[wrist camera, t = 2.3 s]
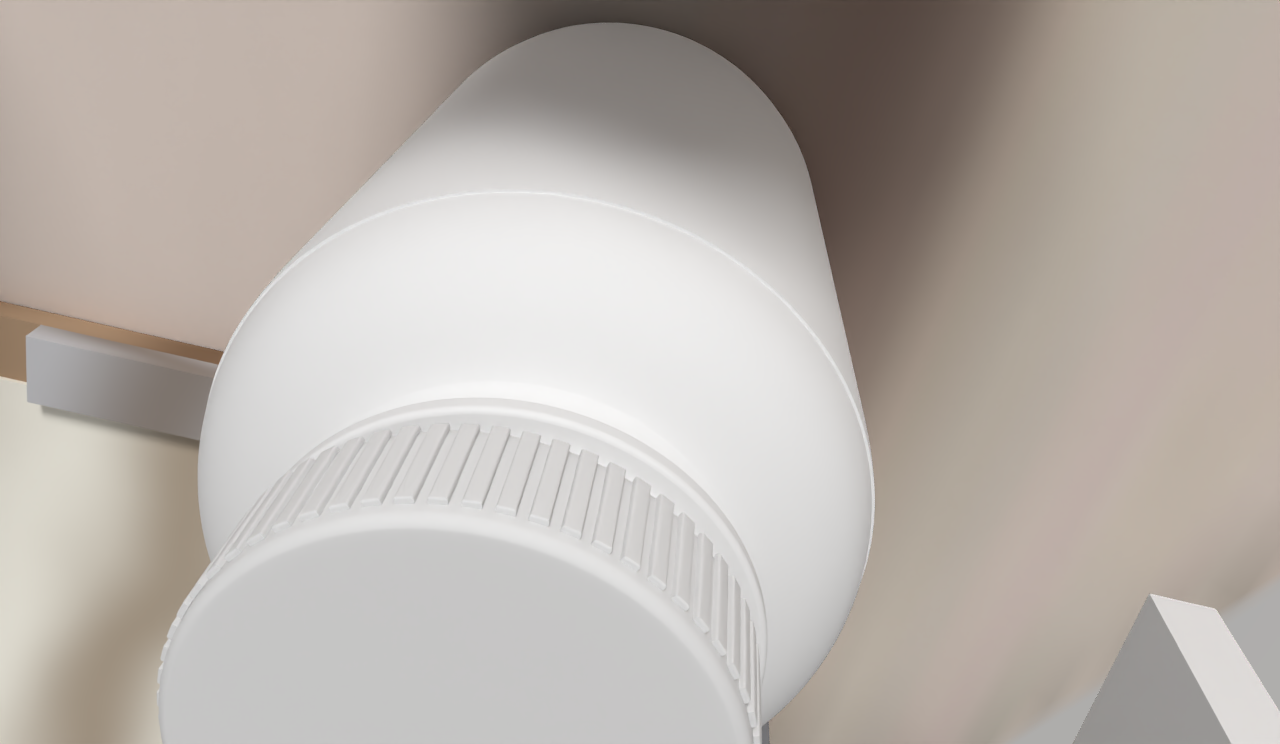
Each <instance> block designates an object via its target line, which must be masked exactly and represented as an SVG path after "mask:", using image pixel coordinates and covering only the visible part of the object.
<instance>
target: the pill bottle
mask: <svg viewBox="0 0 1280 744" xmlns="http://www.w3.org/2000/svg"><path fill="white" fill-rule="evenodd" d="M198 501H199V510H200V518H201V524H202V530H203V535H204V539H205V544H206V548H207V551H208V555H209V558H210V561H211V563H210V564H209V565H208V567H207V568H206V570H205V571H204V572H203V574H202V575H201V577H200V578H199V580H198V581H197V583H196V584H195V586H194V587H193V589H192V590H191V591H190V593H189V594H188V596H187V597H186V599H185V600H184V602H183V603H182V605H181V607H180V609H179V610H178V612H177V614H176V615H177V617H176V618H175V620H174V621H173V623H172V624H171V627H170V629H169V631H168V634H167V638H168V640H167V642H166V643H165V644H164V646H163V650H162V653H161V658H160V659H161V661H163V663H162V664H161V666H160V667H159V669H158V677H157V683H159V684H160V687H159V689H158V691H157V706H159V714H158V719H159V725H160V732H161V738H162V743H163V744H762V726H763V725H764V724H766V723H767V722H768V721H769V720H771V719H772V718H773V717H774V716H775V715H776V714H778V713H779V712H780V711H781V710H782V709H783V708H784V707H785V706H786V705H787V704H788V703H789V702H790V701H791V700H792V699H793V698H794V697H795V696H796V695H797V694H798V693H799V692H800V690H801V689H802V688H803V687H804V686H805V685H806V684H807V682H808V681H809V680H810V679H811V677H812V676H813V675H814V673H815V672H816V671H817V669H818V668H819V667H820V665H821V664H822V662H823V661H824V659H825V658H826V656H827V655H828V653H829V652H830V650H831V648H832V647H833V645H834V643H835V641H836V640H837V638H838V636H839V634H840V632H841V630H842V628H843V626H844V624H845V622H846V620H847V618H848V615H849V613H850V611H851V608H852V606H853V603H854V600H855V598H856V595H857V592H858V589H859V586H860V583H861V580H862V577H863V574H864V571H865V567H866V564H867V560H868V556H869V551H870V546H871V540H872V534H873V525H874V511H875V491H874V474H873V464H872V456H871V449H870V443H869V437H868V432H867V427H866V422H865V418H864V413H863V409H862V404H861V400H860V396H859V391H858V387H857V382H856V378H855V374H854V369H853V365H852V360H851V356H850V351H849V347H848V343H847V338H846V334H845V329H844V325H843V321H842V316H841V312H840V307H839V303H838V299H837V294H836V290H835V285H834V281H833V277H832V272H831V268H830V263H829V259H828V254H827V250H826V246H825V241H824V237H823V232H822V228H821V224H820V219H819V215H818V210H817V206H816V202H815V197H814V193H813V188H812V184H811V180H810V176H809V173H808V169H807V166H806V163H805V160H804V158H803V155H802V153H801V150H800V148H799V146H798V144H797V142H796V140H795V138H794V136H793V134H792V132H791V130H790V129H789V127H788V125H787V124H786V122H785V121H784V119H783V118H782V116H781V115H780V113H779V112H778V110H777V109H776V108H775V106H774V105H773V104H772V102H771V101H770V100H769V98H768V97H767V96H766V95H765V94H764V93H763V91H762V90H761V89H760V88H759V87H758V86H757V85H756V84H755V83H754V82H753V81H752V80H751V79H750V78H749V77H748V76H747V75H746V74H744V73H743V72H742V71H741V70H740V69H738V68H737V67H736V66H735V65H733V64H732V63H731V62H729V61H728V60H726V59H725V58H723V57H722V56H720V55H719V54H717V53H716V52H714V51H712V50H711V49H709V48H707V47H705V46H703V45H701V44H699V43H697V42H695V41H693V40H690V39H688V38H686V37H683V36H681V35H678V34H675V33H672V32H669V31H665V30H662V29H658V28H653V27H649V26H643V25H637V24H628V23H590V24H581V25H574V26H569V27H564V28H560V29H556V30H553V31H549V32H546V33H543V34H540V35H538V36H535V37H533V38H530V39H528V40H525V41H523V42H521V43H518V44H516V45H514V46H512V47H510V48H508V49H507V50H505V51H503V52H501V53H500V54H498V55H496V56H495V57H493V58H492V59H490V60H489V61H488V62H486V63H485V64H483V65H482V66H481V67H480V68H478V69H477V70H476V71H475V72H474V73H472V74H471V75H470V76H469V77H468V78H467V79H466V80H465V81H464V82H463V83H462V84H461V85H460V86H459V87H458V88H457V89H456V90H455V91H454V92H453V93H452V94H451V95H450V96H449V97H448V98H447V99H446V100H445V101H444V102H443V103H442V104H441V105H440V106H439V107H438V108H437V110H436V111H435V112H434V113H433V114H432V115H431V116H430V117H429V118H428V119H427V120H426V121H425V122H424V123H423V124H422V125H421V126H420V127H419V128H418V129H417V130H416V131H415V132H414V133H413V134H412V135H411V136H410V137H409V138H408V139H407V140H406V141H405V143H404V144H403V145H402V146H401V147H400V148H399V149H398V150H397V151H396V152H395V153H394V154H393V155H392V156H391V157H390V158H389V159H388V160H387V161H386V162H385V163H384V164H383V165H382V166H381V167H380V168H379V169H378V170H377V171H376V172H375V173H374V174H373V175H372V177H371V178H370V179H369V180H368V181H367V182H366V183H365V184H364V185H363V186H362V187H361V188H360V189H359V190H358V191H357V192H356V193H355V194H354V195H353V196H352V197H351V198H350V199H349V200H348V201H347V202H346V203H345V204H344V205H343V206H342V207H341V208H340V210H339V211H338V212H337V213H336V214H335V215H334V216H333V217H332V218H331V219H330V220H329V221H328V222H327V223H326V224H325V225H324V226H323V227H322V228H321V229H320V230H319V231H318V232H317V233H316V234H315V235H314V236H313V237H312V238H311V239H310V240H309V241H308V242H307V244H306V245H305V246H304V247H303V248H302V249H301V250H300V251H299V252H298V253H297V254H296V255H295V256H294V257H293V258H292V259H291V260H290V261H289V262H288V263H287V264H286V265H285V266H284V267H283V268H282V270H281V271H280V272H279V273H278V274H277V275H276V276H275V277H274V278H273V280H272V281H271V282H270V283H269V284H268V286H267V287H266V288H265V289H264V290H263V292H262V293H261V294H260V295H259V297H258V298H257V299H256V301H255V302H254V303H253V305H252V306H251V307H250V309H249V310H248V312H247V313H246V315H245V316H244V318H243V319H242V321H241V322H240V324H239V325H238V327H237V329H236V330H235V332H234V334H233V336H232V337H231V339H230V341H229V343H228V345H227V347H226V349H225V351H224V353H223V356H222V358H221V360H220V363H219V365H218V368H217V370H216V373H215V376H214V379H213V382H212V386H211V389H210V393H209V397H208V401H207V406H206V411H205V415H204V420H203V425H202V430H201V437H200V444H199V454H198Z"/></svg>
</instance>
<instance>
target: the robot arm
mask: <svg viewBox="0 0 1280 744" xmlns="http://www.w3.org/2000/svg"><path fill="white" fill-rule="evenodd" d="M1073 744H1280V712H1279V710H1278V708H1277V707H1276V705H1275V703H1274V702H1273V700H1272V699H1271V697H1270V695H1269V694H1268V692H1267V691H1266V689H1265V688H1264V686H1263V684H1262V683H1261V681H1260V679H1259V678H1258V676H1257V675H1256V673H1255V671H1254V670H1253V668H1252V667H1251V665H1250V663H1249V662H1248V660H1247V659H1246V657H1245V655H1244V654H1243V652H1242V650H1241V649H1240V647H1239V646H1238V644H1237V642H1236V641H1235V639H1234V638H1233V636H1232V634H1231V633H1230V631H1229V630H1228V628H1227V626H1226V625H1225V623H1224V622H1223V620H1222V618H1221V617H1220V615H1219V613H1218V612H1217V610H1216V609H1214V608H1209V607H1205V606H1201V605H1197V604H1192V603H1188V602H1184V601H1179V600H1175V599H1171V598H1166V597H1162V596H1158V595H1154V594H1149V595H1148V597H1147V599H1146V601H1145V603H1144V605H1143V607H1142V609H1141V611H1140V613H1139V615H1138V617H1137V619H1136V621H1135V623H1134V625H1133V626H1132V628H1131V630H1130V632H1129V634H1128V636H1127V638H1126V640H1125V642H1124V644H1123V646H1122V648H1121V650H1120V652H1119V654H1118V656H1117V658H1116V660H1115V662H1114V664H1113V666H1112V668H1111V670H1110V671H1109V673H1108V675H1107V677H1106V679H1105V681H1104V683H1103V685H1102V687H1101V689H1100V691H1099V693H1098V695H1097V697H1096V699H1095V701H1094V703H1093V705H1092V707H1091V709H1090V711H1089V713H1088V715H1087V716H1086V718H1085V720H1084V722H1083V724H1082V726H1081V728H1080V730H1079V732H1078V734H1077V736H1076V738H1075V740H1074V742H1073Z"/></svg>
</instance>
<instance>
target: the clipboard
mask: <svg viewBox="0 0 1280 744" xmlns="http://www.w3.org/2000/svg"><path fill="white" fill-rule="evenodd" d="M223 353H224V352H222V351H218V350H213V349H209V348H204V347H200V346H195V345H191V344H187V343H182V342H178V341H173V340H169V339H164V338H160V337H156V336H151V335H147V334H142V333H138V332H133V331H129V330H125V329H120V328H116V327H111V326H107V325H103V324H98V323H94V322H89V321H85V320H80V319H76V318H72V317H67V316H63V315H58V314H54V313H49V312H45V311H41V310H36V309H32V308H27V307H23V306H18V305H14V304H10V303H5V302H1V301H0V744H163V743H162V738H161V732H160V725H159V719H158V714H159V706H157V691H158V689H159V687H160V684H159V683H157V677H158V669H159V667H160V666H161V664H162V663H163V661H161V659H160V658H161V653H162V650H163V646H164V644H165V643H166V642H167V640H168V638H167V634H168V631H169V629H170V627H171V624H172V623H173V621H174V620H175V618H176V617H177V615H176V614H177V612H178V610H179V609H180V607H181V605H182V603H183V602H184V600H185V599H186V597H187V596H188V594H189V593H190V591H191V590H192V589H193V587H194V586H195V584H196V583H197V581H198V580H199V578H200V577H201V575H202V574H203V572H204V571H205V570H206V568H207V567H208V565H209V564H210V563H211V561H210V558H209V555H208V551H207V548H206V544H205V539H204V535H203V530H202V524H201V518H200V510H199V501H198V454H199V444H200V437H201V430H202V425H203V420H204V415H205V411H206V406H207V401H208V397H209V393H210V389H211V386H212V382H213V379H214V376H215V373H216V370H217V368H218V365H219V363H220V360H221V358H222V356H223Z"/></svg>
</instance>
